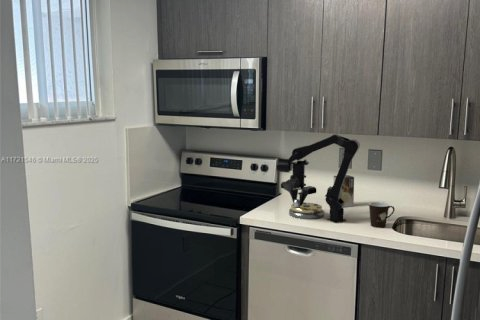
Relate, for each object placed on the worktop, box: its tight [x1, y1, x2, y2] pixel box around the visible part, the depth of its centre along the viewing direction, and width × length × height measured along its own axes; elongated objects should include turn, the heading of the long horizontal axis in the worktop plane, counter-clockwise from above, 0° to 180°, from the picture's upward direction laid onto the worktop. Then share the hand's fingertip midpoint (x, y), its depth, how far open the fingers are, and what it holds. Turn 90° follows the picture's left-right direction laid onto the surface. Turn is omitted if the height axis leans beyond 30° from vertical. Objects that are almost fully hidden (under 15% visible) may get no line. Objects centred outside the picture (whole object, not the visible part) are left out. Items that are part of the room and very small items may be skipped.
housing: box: [288, 208, 325, 220], centre depth 217 cm, size 17×17×2 cm
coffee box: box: [333, 174, 355, 208], centre depth 234 cm, size 9×6×16 cm
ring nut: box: [290, 198, 323, 214], centre depth 217 cm, size 15×15×6 cm
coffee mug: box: [368, 201, 395, 229], centre depth 197 cm, size 12×9×10 cm
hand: (297, 204), depth 213 cm, fingers open, 4 cm apart
